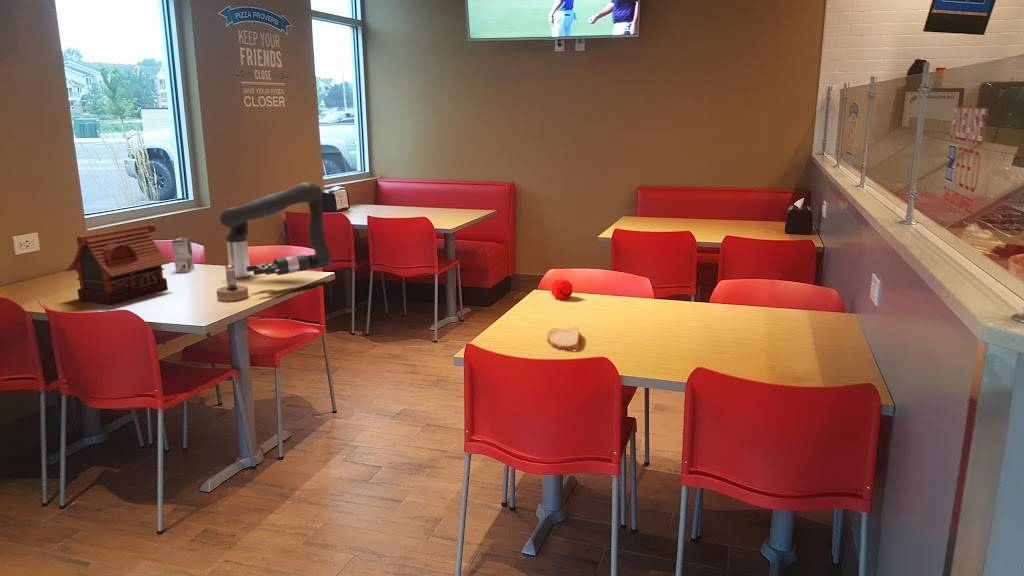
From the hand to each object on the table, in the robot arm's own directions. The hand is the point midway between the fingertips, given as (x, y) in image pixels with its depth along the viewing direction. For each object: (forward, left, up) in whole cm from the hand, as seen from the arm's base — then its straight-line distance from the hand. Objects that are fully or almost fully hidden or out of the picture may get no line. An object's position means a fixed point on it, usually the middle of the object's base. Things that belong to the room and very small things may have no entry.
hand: (250, 270), depth 314 cm
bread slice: (+137, +59, -11) cm, 150 cm away
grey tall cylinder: (0, -8, -10) cm, 13 cm away
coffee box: (-71, -8, -11) cm, 72 cm away
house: (-37, -42, -11) cm, 57 cm away
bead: (0, -8, -10) cm, 13 cm away
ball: (+94, +97, -11) cm, 135 cm away
